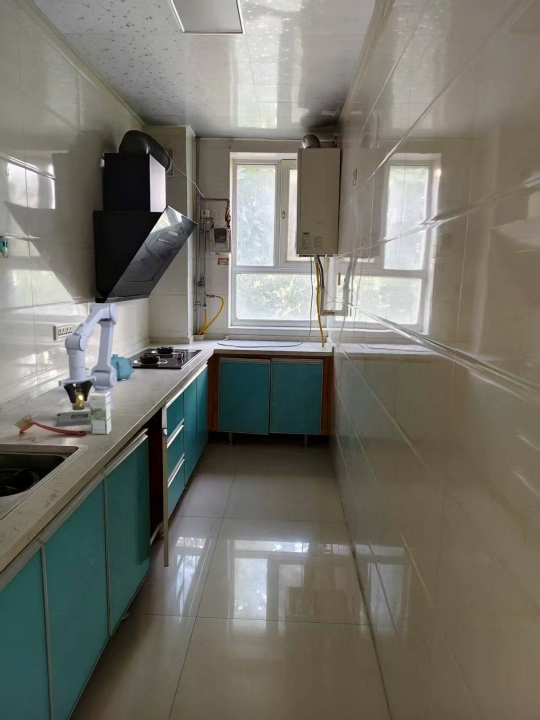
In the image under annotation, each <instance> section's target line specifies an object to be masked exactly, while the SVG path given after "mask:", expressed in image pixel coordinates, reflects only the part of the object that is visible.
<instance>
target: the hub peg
mask: <svg viewBox="0 0 540 720" xmlns="http://www.w3.org/2000/svg"><path fill="white" fill-rule="evenodd" d="M71 404H72V406H71V408H72V411H85V409H86V408H85V406H86V405H85V401H84V393H82V392H77V393H76V392H75V403H74V404H73V403H71Z"/></svg>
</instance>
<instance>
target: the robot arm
mask: <svg viewBox="0 0 540 720" xmlns="http://www.w3.org/2000/svg"><path fill="white" fill-rule="evenodd" d="M118 315H119V309H118V307H117V304H115V303H112V302H111V303H100V302H99V303H96V302H92V303H91V305H90V306H89V314H88V316H87V318H86V320H85V321H84V322H81V323H79V325H78V326H77V327H76V329H75V330H74V332H73V333H72V334H69V335H68V336H67V337H66V338H65V340H64V348H65V349H66V355H68V371H69V372H68V373H69V378H65V379H60V380H58V381H57V382H58V387H63V388H64V390H65V391H66V393H67V396H68V399H69V402H70V404H72V403H73V404H74V403H75V393H76V384H77V383H80V385H81V390H82V393H84V402H87V401H88V398H89V396H88V394H89V391H90V389H91V387H92V386H93V388H95V392H110V411H111V410H115V402H114V392H113V391H114V387H115V386H116V384H117V382H118V379H117V376H116V369H115V368H114V367H113V366H112V365H111V364H110V363H111V357H112V352H113V339H114V329H115V325H117V323H118ZM97 324H98V325H100V327H101V328H100V338H99V347H98V358H97V363H98V364H96V365H94V366H92V367H91V369H92V371H91V374H90V376H86V372H85V369H86V354H85V352H86V351H85V350H87V348H88V343H89V339H90V337H92V335H93V334H94V327H95V326H96V325H97ZM100 371H109V372H100Z"/></svg>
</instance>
